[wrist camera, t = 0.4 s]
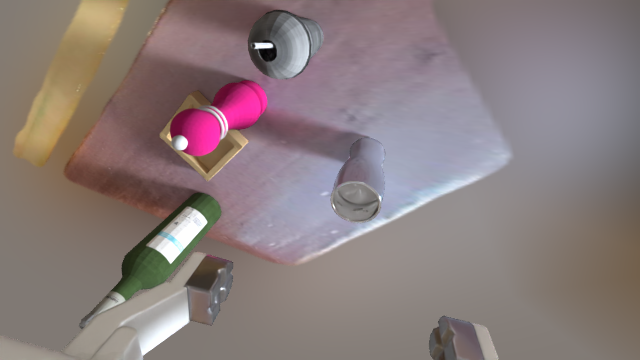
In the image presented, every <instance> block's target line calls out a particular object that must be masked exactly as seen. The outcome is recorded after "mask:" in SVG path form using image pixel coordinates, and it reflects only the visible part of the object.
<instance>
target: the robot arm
mask: <svg viewBox="0 0 640 360" xmlns="http://www.w3.org/2000/svg"><path fill="white" fill-rule="evenodd" d="M232 269H233V262H232V261H229V260H226V259H222V258H218V257H215V256H212V255H208V254H204V253H201V252H197V251H196V252H194V253H193V254H191V256H190V257H189V258H188V259H187V261H186V262H185V263H184V264H183V266H182V267H181V268H180V270H179V271H178V272H177V273H176V275H175V276H174V277H173V278H172V280H171V281H170V282H169V283H168V282H164V283H162V284H160V285H158V286H156V287H154V288H152V289H150V290H148V291H145V292H143V293H141V294H139V295H137V296H135V297H133V298H131V299H129V300H127V301H125V302H123V303H121V304H118V305H116V306H114V307H112V308H110V309H108V310H106V311H104V312H102V313H100V314H98V315H96V316H94V317H93V318H92V319H91V320H90V322H89V323H88V324H87V325H86V326H85V327H84V328H83V329H82V330H81V331H80V332H79V333H78V334H77V335H76V336H75V337H74V338H73V339H72V341H70V342H69V343H68V344H67V346H66V347H65V348H64V349H63V350H62V351H61V352H58V351H54V350H51V349H47V348H44V347H40V346H37V345H34V344H30V343H27V342H23V341H20V340H17V339H13V338H10V337H6V336H3V335H0V360H143V355H144V354H146V353H147V352H148V351H150V350H151V349H153V348H154V347H155V346H157V345H158V344H159V343H161V342H162V341H163V340H165V339H166V338H168V337H169V336H171V335H172V334H173V333H175V332H176V331H177V330H179V329H180V328H182V327H183V326H184V325H186V324H187V323H189V320H190V321H195V322H198V323H202V324H207V325H212V324H213V322H214V320H215V319H216V316H217V315H218V313H219V311H220V303H222V302H223V301H225V300H226V298H227V296H228V294H229V292H230V289H231V286H232V282H233V275H232V274H231V271H232ZM438 324H439V327H437V328H434V329H433V331H432V333H431V335H430V340H429V350H430V355H431V357H432V358H433V360H499V359H498V356H497V353H496V351H495V348H494V345H493V343H492V340H491V337H490V334H489V332H488V329H487V328H486V327H485V326H482V325H478V324H474V323H470V322H466V321H463V320H459V319H455V318H451V317H446V316H442V317H441V318H440V319H439V321H438Z"/></svg>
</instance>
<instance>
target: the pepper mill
mask: <svg viewBox="0 0 640 360" xmlns="http://www.w3.org/2000/svg"><path fill="white" fill-rule="evenodd" d="M266 106H267V98H266V95H265V92H264V91H263V89H262V88H261V87H260V86H259V85H258V84H257V83H255V82H253V81H249V80H244V81H241V82H239V83H237V82H236V83H229V84H227V85H225V86H223V87H222V88H221V89H220V90H219V91H218V92H217V94H216V95H215V97H214V101H213V103H212V104H211V105H203V106H200V107H199V108H190V109H185V110H183V111H181V112H180V113H178V114H177V115H176V116H175V117H174V118H173V120H172V122H171V125H170V134H171V138H172V140H171V145H172V147H173V148H174V149H176V150H181V151H182V152H184V153H186V154H188V155H192V156H203V155H206V154H208V153H210V152H212V151H213V150H214V149H215V148H216V147H217V146H218V144H219V141H220V140H221V139H223V138H224V137H225V136H226V134H227V131H228V130H230V129H235V130H241V129H246V128H248V127H250V126H252V125H253V124H254V123H255V122H256V121H257V120H258V118H259V116H260V115H261V114H262V113H263V112H264V111H265V109H266Z"/></svg>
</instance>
